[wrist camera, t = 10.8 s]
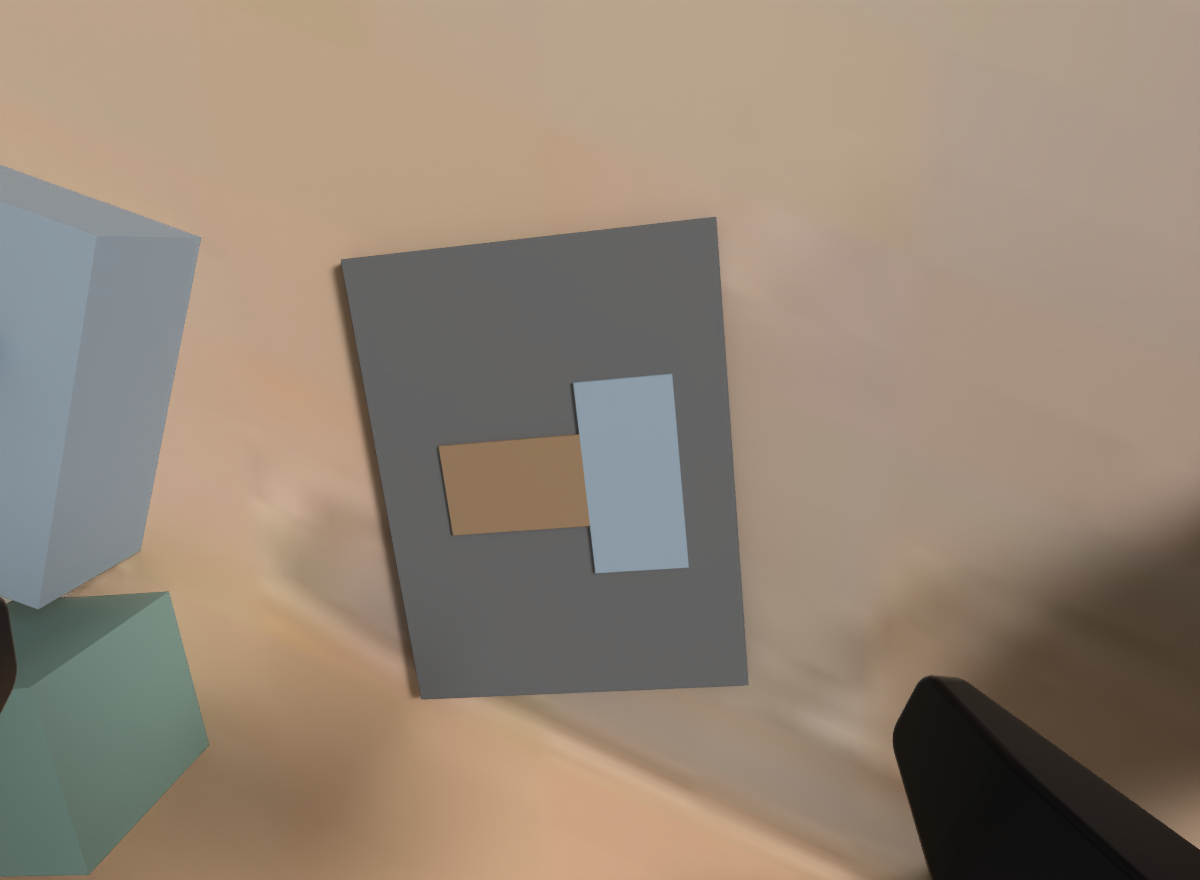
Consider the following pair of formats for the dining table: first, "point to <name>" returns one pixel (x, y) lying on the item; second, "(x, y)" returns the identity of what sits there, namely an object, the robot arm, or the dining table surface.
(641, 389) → the card
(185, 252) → the blue base block
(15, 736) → the teal cube
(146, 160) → the dining table surface
